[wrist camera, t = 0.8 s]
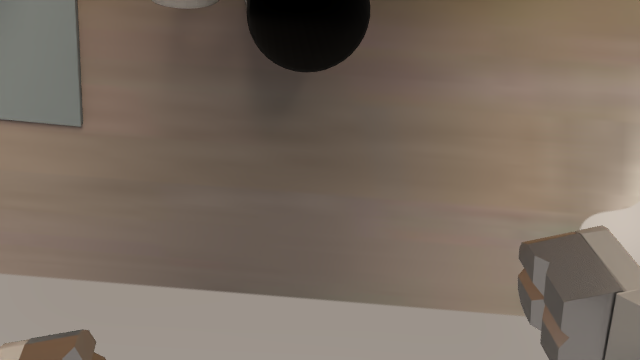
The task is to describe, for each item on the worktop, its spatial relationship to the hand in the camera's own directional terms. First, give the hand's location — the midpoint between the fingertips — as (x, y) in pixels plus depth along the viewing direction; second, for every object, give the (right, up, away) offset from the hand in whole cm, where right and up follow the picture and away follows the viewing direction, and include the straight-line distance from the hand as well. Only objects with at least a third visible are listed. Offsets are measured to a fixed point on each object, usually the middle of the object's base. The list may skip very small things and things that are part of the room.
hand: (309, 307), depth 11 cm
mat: (-26, +14, +38) cm, 48 cm away
